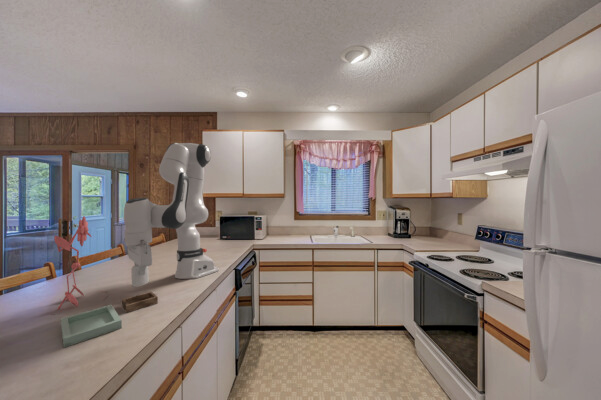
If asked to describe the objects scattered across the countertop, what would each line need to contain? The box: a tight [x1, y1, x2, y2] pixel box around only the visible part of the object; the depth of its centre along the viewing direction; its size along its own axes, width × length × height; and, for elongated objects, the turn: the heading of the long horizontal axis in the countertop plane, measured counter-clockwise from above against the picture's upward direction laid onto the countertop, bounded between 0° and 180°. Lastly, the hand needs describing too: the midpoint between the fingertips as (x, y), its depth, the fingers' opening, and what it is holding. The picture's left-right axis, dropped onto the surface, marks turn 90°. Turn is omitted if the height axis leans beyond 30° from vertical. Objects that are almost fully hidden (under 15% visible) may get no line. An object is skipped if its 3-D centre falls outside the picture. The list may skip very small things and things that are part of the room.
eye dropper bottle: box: [131, 264, 150, 288], centre depth 91 cm, size 4×6×12 cm
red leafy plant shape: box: [51, 216, 109, 316], centre depth 95 cm, size 15×26×35 cm, turn 33°
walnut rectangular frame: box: [121, 291, 159, 313], centre depth 90 cm, size 10×8×2 cm
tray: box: [60, 304, 123, 349], centre depth 74 cm, size 17×13×2 cm
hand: (140, 273), depth 91 cm, fingers closed on eye dropper bottle, 3 cm apart
